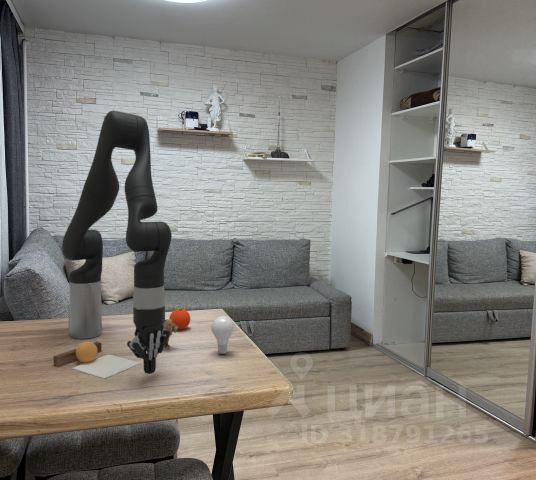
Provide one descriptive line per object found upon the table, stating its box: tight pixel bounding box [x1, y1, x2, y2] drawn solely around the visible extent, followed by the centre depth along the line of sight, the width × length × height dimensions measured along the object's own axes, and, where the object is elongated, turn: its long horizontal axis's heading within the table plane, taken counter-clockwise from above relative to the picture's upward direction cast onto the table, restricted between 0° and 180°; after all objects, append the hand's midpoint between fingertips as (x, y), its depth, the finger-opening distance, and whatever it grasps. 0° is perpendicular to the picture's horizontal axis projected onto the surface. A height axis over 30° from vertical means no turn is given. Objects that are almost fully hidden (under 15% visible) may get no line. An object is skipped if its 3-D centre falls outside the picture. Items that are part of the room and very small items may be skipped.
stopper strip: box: [53, 341, 102, 368], centre depth 129 cm, size 2×14×2 cm, turn 150°
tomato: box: [169, 307, 191, 331], centre depth 158 cm, size 8×7×7 cm
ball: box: [75, 341, 98, 364], centre depth 127 cm, size 6×6×6 cm
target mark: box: [71, 354, 141, 380], centre depth 124 cm, size 12×12×1 cm
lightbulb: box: [211, 315, 235, 355], centre depth 135 cm, size 6×6×11 cm
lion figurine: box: [159, 318, 178, 348], centre depth 142 cm, size 15×5×9 cm, turn 35°
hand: (149, 372), depth 117 cm, fingers closed
